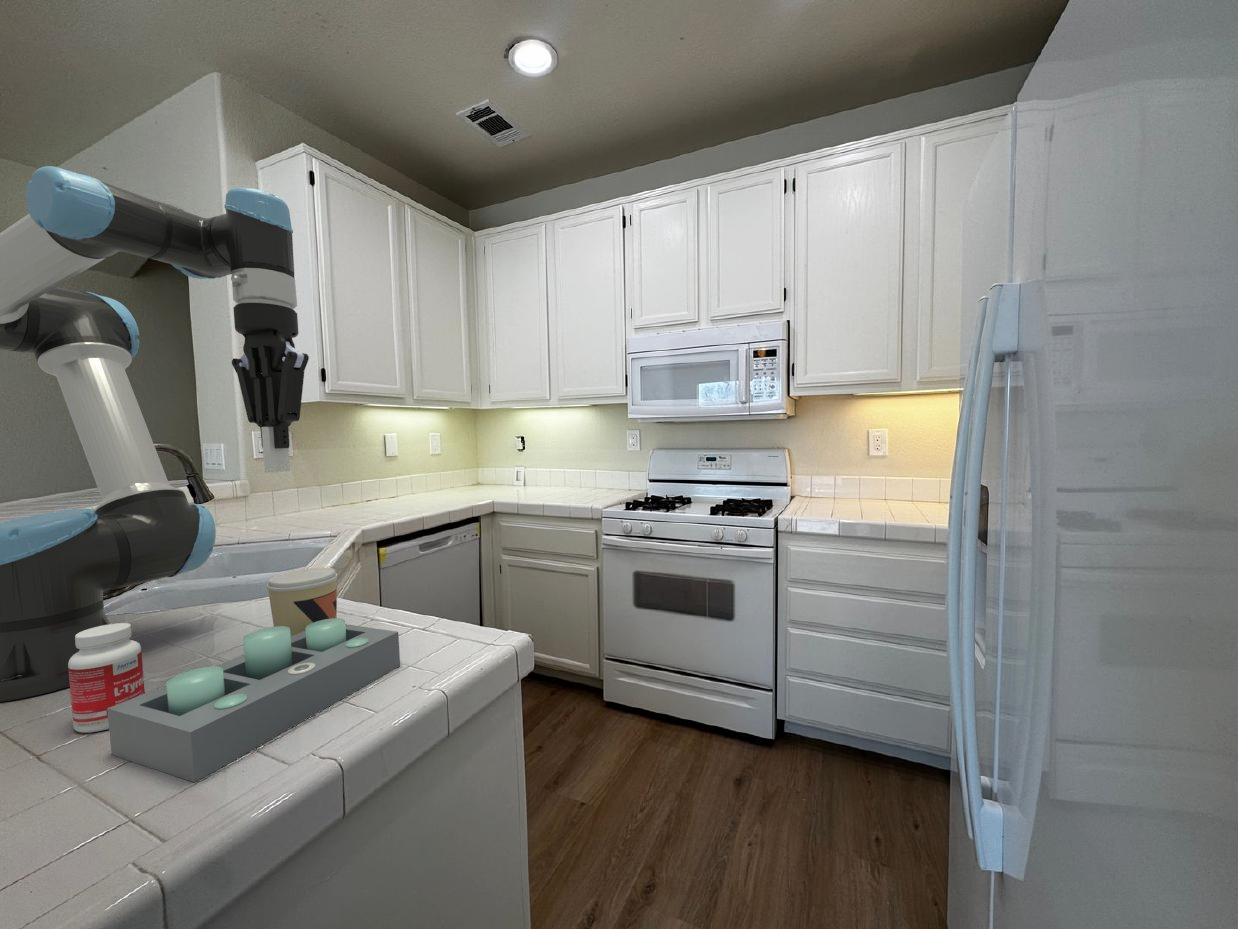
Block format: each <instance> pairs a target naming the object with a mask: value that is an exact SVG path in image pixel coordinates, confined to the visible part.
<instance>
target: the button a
mask: <svg viewBox="0 0 1238 929" xmlns="http://www.w3.org/2000/svg"><path fill="white" fill-rule="evenodd" d="M166 685H167V697H168V709H169V713H170V714H174V715H177V716H181V715H183V714H185V713H188V712H190V711H192V710H194V709H197V708H199V707H201V706H203V705H205V704H208V703H210V702H212V701H214V700H217V699H219V698H221V697H223V696H225V689H224V676H223V668H221V667H217V666H216V665H214V666H211V665H210V666H203V667H198V668H194V669H191V670H187V671H184V672H181V673H179V674H177V675H175V676H173V677H171V678H170V679H168V680H167V681H166ZM166 685H165V686H166Z"/></svg>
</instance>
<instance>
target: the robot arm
mask: <svg viewBox="0 0 1238 929" xmlns="http://www.w3.org/2000/svg"><path fill="white" fill-rule="evenodd" d="M25 202H26V203H25V204H26V208H27V210H28V213H27V214H26V215H25V216H23V217H22V218H20V219H19V220H17V221H16V222H15V223H13V224H11V225H10V226H9V227H7V228H5V229H4V230H3V231H1V232H0V350H1V351H9V352H20V353H29V354H33V355H34V356H35V359H36V363H37V364H38V365H37V366H38V367H39V369H41V371H42V372H44V373H46V374H49V375H51V376H54V377H56V379H57V382H58V385H59V388H60V390H61V392H62V396H63V399H64V401H65V404H66V406H67V408H68V409H67V410H68V411H69V414H70V417H71V420H72V423H73V426H74V428H75V430H76V433H77V436H78V439H79V441H80V443H81V445H82V450H83V451H84V454H85V458H86V460H87V463H88V465H89V468H90V471H91V473H92V476H93V478H94V482H95V484H96V487H97V489H98V491H99V495H100V498H101V502H99V504H98V505H97V506H96V507H95V509H94V510H93V509H91V508H76V509H75V508H74V509H73V508H72V509H65V510H59V511H55V512H53V511H52V512H45V513H39V514H34V515H28V516H23V517H19V518H15V519H11V520H10V519H9V520H6V521H3V522H2V521H1V522H0V703H1V702H8V701H14V700H20V699H26V698H30V697H35V696H39V695H44V694H46V693H47V694H48V693H50V692H56V691H58V690H63V689H65V688H70V682H69V671H68V663H69V660H70V658H71V657H72V656H73V655H74V654H76V653H77V652H79V650H80V649H78V648H76V645H75V635H76V634H78V633H80V632H82V631H84V630H87V629H91V628H94V627H98V626H103V625H109V624H112V623H111V622H110V619H109V618H108V616H107V615H106V612H105V607H104V606H105V605H104V592H109V591H111V590H112V591H113V590H117V589H121V588H124V587H126V588H127V587H129V586H134V585H135V586H136V585H139V584H144V583H148V582H152V581H155V580H159V579H160V580H161V579H164V578H175V577H177V576H178V575H181V574H184V573H188V572H192V571H195V570H197V569H199V568H201V567H202V566H203V565H205V563H207V561H208V560H209V558H210V557H211V555H212V553H213V550H214V547H215V543H216V538H217V537H216V534H217V533H216V524H215V519H214V517H213V514H212V513H211V511H210V510H209V509H208V508H206V507H205V506H204V505H202V504H199V503H189V501H188V498H187V496H186V493H185V491H184V490H182V489H180V488H177V487H175V486H172V485H170V482H169V480H168V478H167V475H166V473H165V470H164V467H163V464H162V462H161V459H160V457H159V455H158V451H157V449H156V447H155V445H154V442H153V439H152V437H151V433H150V431H149V428H148V427H147V426H148V425H147V424H146V421H145V418H144V416H143V414H142V411H141V407H140V405H139V402H138V400H137V397H136V396H135V392H134V390H133V388H132V385H131V381H130V380H129V377H128V375H127V372H126V369H127V368H128V367H130V365H131V364H132V361H133V359H134V358H135V356H136V355H137V353H138V351H139V348H140V340H139V339H138V336H140V331H139V327H138V324H137V322H136V319H135V317H134V316H133V314H132V313H131V311H130V310H129V309H128V308H127V307H126V306H125V305H124V304H123V303H121V301H118V300H116V299H113V298H111V297H107V296H104V295H99V294H96V293H94V292H90V291H85V290H72V289H67V288H63V287H62V288H61V287H59V286H60V285H62V284H64V283H66V282H67V281H69V280H70V279H73V278H74V277H76V276H77V275H79V274H81V273H82V272H84V271H86V270H88V269H90V268H91V267H93V266H95V265H96V264H98V263H100V262H102V261H103V260H106V258H109V257H112V256H113V255H116V254H117V253H119V252H124V253H128V254H132V255H134V256H135V255H136V256H140V257H143V258H148V259H151V260H155V261H158V262H162V263H166V264H169V265H171V266H172V267H173V268H175V269H177V271H179V272H181V273H182V274H183V275H185V276H186V277H190V278H193V279H200V280H201V279H205V280H206V279H209V280H211V279H212V280H213V279H217V278H218V279H221V278H222V277H226V276H230V275H231V276H230V280H231V282H232V283H231V286H232V288H231V289H232V298H233V301H234V302H235V303H236V304H235V306H233V318H234V319H233V320H234V322H233V323H234V330H235V331H236V333H238V334H241V335H242V336H243V337H244V342H243V343H244V344H243V346H242V348H243V349H242V350H243V355H242V356H241V357H240V358H234V357H233V358H232V360H231V366H232V368H233V369H234V371H235V373H236V375H237V379H238V383H239V387H240V391H241V395H242V400H243V404H244V409H245V412H246V417H247V420H248V423H250V424H252V423H253V424H256V425H257V426H258V427H259V429H260V440H261V442H260V443H261V448H262V454H263V467H264V469H263V470H264V473H281V472H290V471H291V468H290V466H291V465H290V453H289V452H290V451H289V448H290V431H289V427H290V426H291V425H292V423H293V422H298V421H299V420H300V417H301V407H302V398H303V389H304V377H305V370H306V367H307V365H308V363H309V359H310V357H309V355H308V354H307V353H303V352H299V351H298V350H297V349H296V346H295V342H294V340H293V339H294V338H296V337H297V336H298V335H299V320H298V319H299V318H298V312H296V311H295V309H296V308H297V307H298V299H297V289H296V288H297V287H296V279H295V263H294V262H295V261H294V242H293V241H294V240H293V233H294V230H293V227H292V221H291V215H290V214H291V213H290V208H289V206H288V204H287V203H286V202H285V201H284V200H283V199H281V198H280V197H279V196H277V195H275V194H274V193H271V192H268V191H266V190H263V189H258V188H253V187H246V186H245V187H244V186H241V187H233V188H231V189H229V190H227V192H226V194H225V202H224V203H225V204H224V206H223V207H224V210H225V213H223V214H220V215H216V216H212V217H208V218H207V217H206V218H205V217H202V216H199V215H197V214H193V213H190V212H188V211H185V210H182V209H180V208H177V207H174V206H171V205H168V204H165V203H162V202H160V201H156V200H153V199H151V198H148V197H145V196H142V195H140V194H137V193H136V192H132V191H129V190H126V189H123V188H120V187H118V186H115V185H112V184H110V183H107V182H104V181H102V180H99V179H97V178H95V177H93V176H90V175H89V174H88V175H87V174H81V173H78V172H75V171H71V170H68V169H67V170H66V169H64V168H61V167H57V166H51V165H48V166H46V165H45V166H42V167H40V168H38V169H36V170H35V171H34V172H33V173H32V175H31V180H30V181H28V182H27V186H26V193H25Z"/></svg>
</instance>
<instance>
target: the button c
mask: <svg viewBox="0 0 1238 929" xmlns="http://www.w3.org/2000/svg"><path fill="white" fill-rule="evenodd" d="M345 624H346V619H344V618H338V617H337V618H332V619H325V620H320V621H317V622H314V623H311V624H309V625H308V626H306V628H305V629H306V644H307V650H313V651H319V652H323V651H325V650H328V649H330V648H332V647H334V646H336V645H339V644H341V643H343V642H345V641H346V627H345Z"/></svg>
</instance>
